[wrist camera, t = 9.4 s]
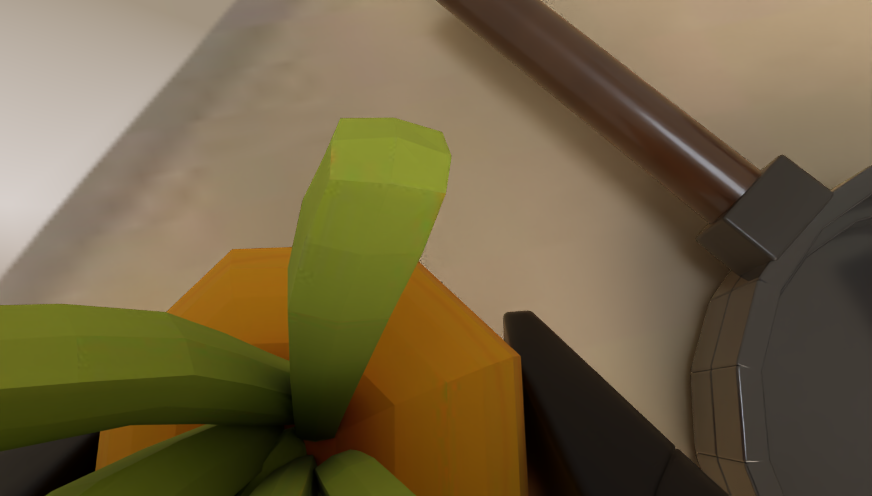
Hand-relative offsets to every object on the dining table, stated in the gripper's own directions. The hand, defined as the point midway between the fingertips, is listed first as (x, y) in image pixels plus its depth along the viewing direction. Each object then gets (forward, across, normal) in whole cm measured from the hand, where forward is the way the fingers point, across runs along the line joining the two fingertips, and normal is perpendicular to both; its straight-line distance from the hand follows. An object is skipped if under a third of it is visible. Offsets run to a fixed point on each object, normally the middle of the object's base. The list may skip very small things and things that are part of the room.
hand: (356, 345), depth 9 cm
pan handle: (+10, -6, 0) cm, 12 cm away
